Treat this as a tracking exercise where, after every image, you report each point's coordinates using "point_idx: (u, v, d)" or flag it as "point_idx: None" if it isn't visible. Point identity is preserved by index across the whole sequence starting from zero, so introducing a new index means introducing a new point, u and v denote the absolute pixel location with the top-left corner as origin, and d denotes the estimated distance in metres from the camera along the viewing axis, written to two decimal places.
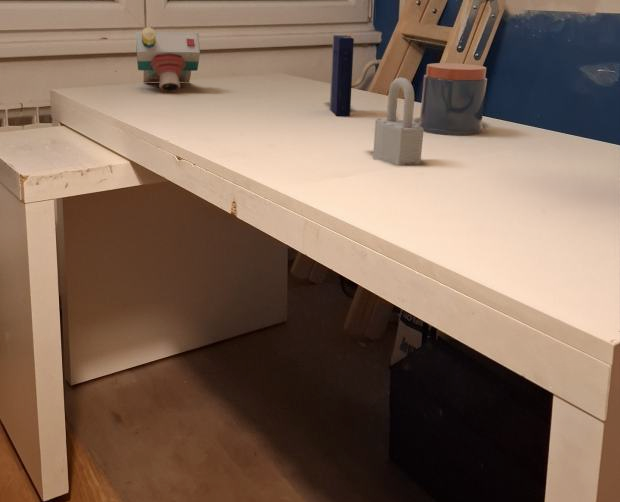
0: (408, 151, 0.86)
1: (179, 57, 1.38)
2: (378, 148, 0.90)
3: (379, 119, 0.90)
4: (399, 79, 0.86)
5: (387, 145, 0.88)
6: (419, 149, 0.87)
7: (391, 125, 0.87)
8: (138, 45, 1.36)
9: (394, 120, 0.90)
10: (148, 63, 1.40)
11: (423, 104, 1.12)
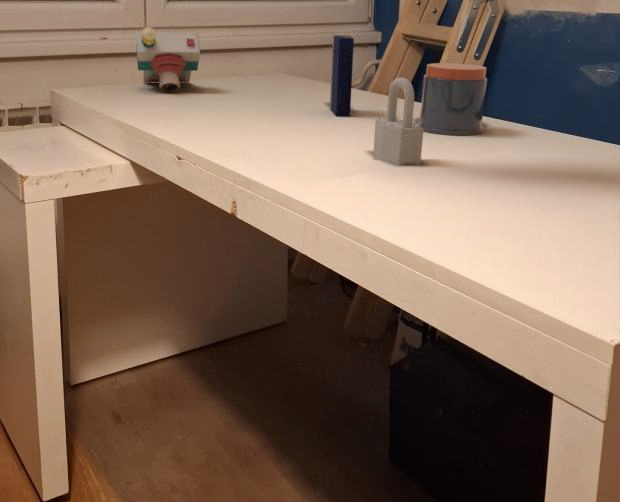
0: (408, 151, 0.86)
1: (179, 57, 1.38)
2: (378, 148, 0.90)
3: (379, 119, 0.90)
4: (399, 79, 0.86)
5: (387, 145, 0.88)
6: (419, 149, 0.87)
7: (391, 125, 0.87)
8: (138, 45, 1.36)
9: (394, 120, 0.90)
10: (148, 63, 1.40)
11: (423, 104, 1.12)
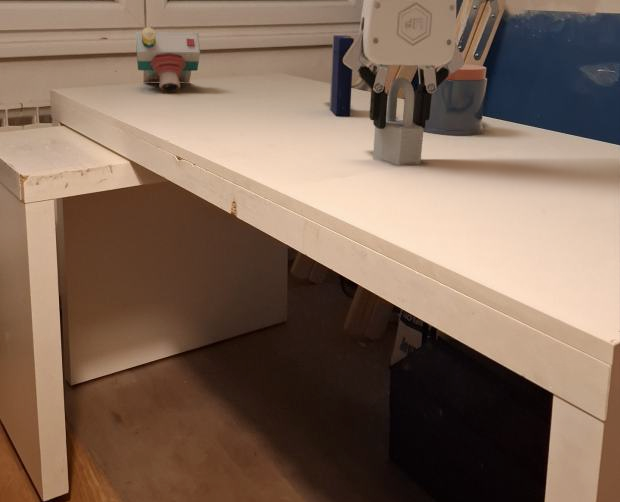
0: (408, 151, 0.86)
1: (179, 57, 1.38)
2: (378, 148, 0.90)
3: None
4: (399, 79, 0.86)
5: (387, 145, 0.88)
6: (419, 149, 0.87)
7: (391, 125, 0.87)
8: (138, 45, 1.36)
9: (394, 120, 0.90)
10: (148, 63, 1.40)
11: None
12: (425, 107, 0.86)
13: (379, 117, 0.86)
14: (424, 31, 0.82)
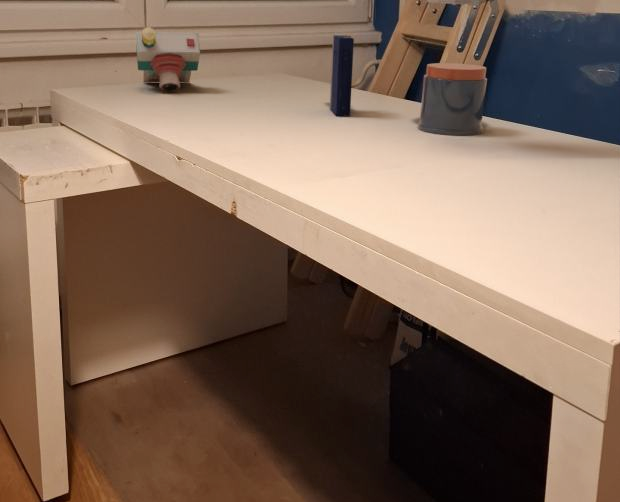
0: None
1: (179, 57, 1.38)
2: None
3: None
4: None
5: None
6: None
7: None
8: (138, 45, 1.36)
9: None
10: (148, 63, 1.40)
11: (423, 104, 1.12)
12: None
13: None
14: None
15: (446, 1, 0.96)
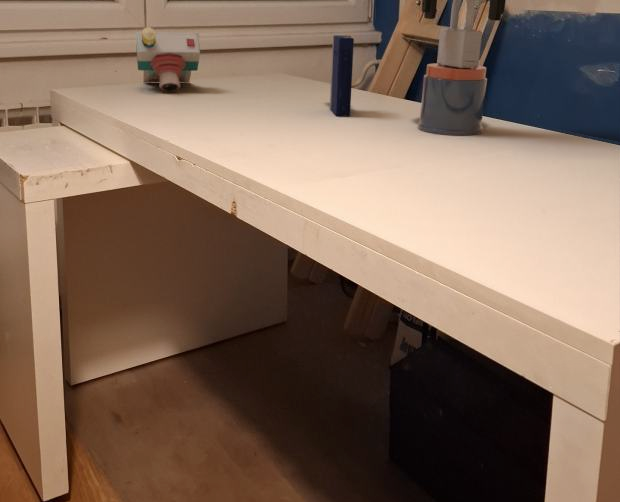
0: (469, 51, 1.06)
1: (179, 57, 1.38)
2: (443, 51, 1.10)
3: (443, 28, 1.10)
4: None
5: (451, 47, 1.08)
6: (478, 49, 1.06)
7: (455, 30, 1.06)
8: (138, 45, 1.36)
9: (456, 28, 1.09)
10: (148, 63, 1.40)
11: (423, 104, 1.12)
12: (501, 1, 1.06)
13: (430, 9, 1.05)
14: None
15: (454, 64, 1.08)
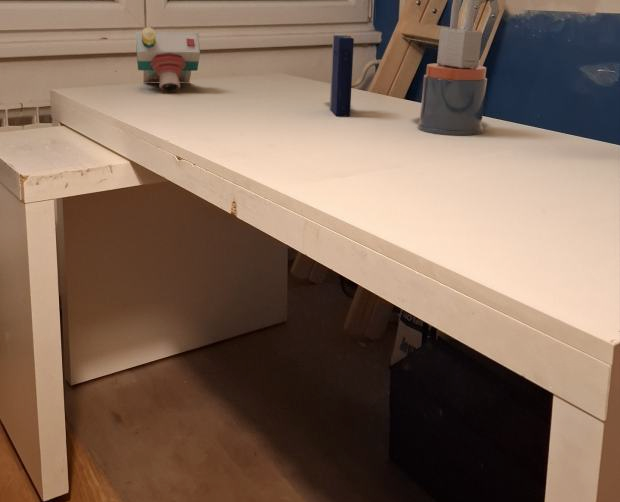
0: (469, 51, 1.06)
1: (179, 57, 1.38)
2: (443, 51, 1.10)
3: (443, 28, 1.10)
4: None
5: (451, 47, 1.08)
6: (478, 49, 1.06)
7: (455, 30, 1.06)
8: (138, 45, 1.36)
9: (456, 28, 1.09)
10: (148, 63, 1.40)
11: (423, 104, 1.12)
12: None
13: None
14: None
15: (454, 64, 1.08)
